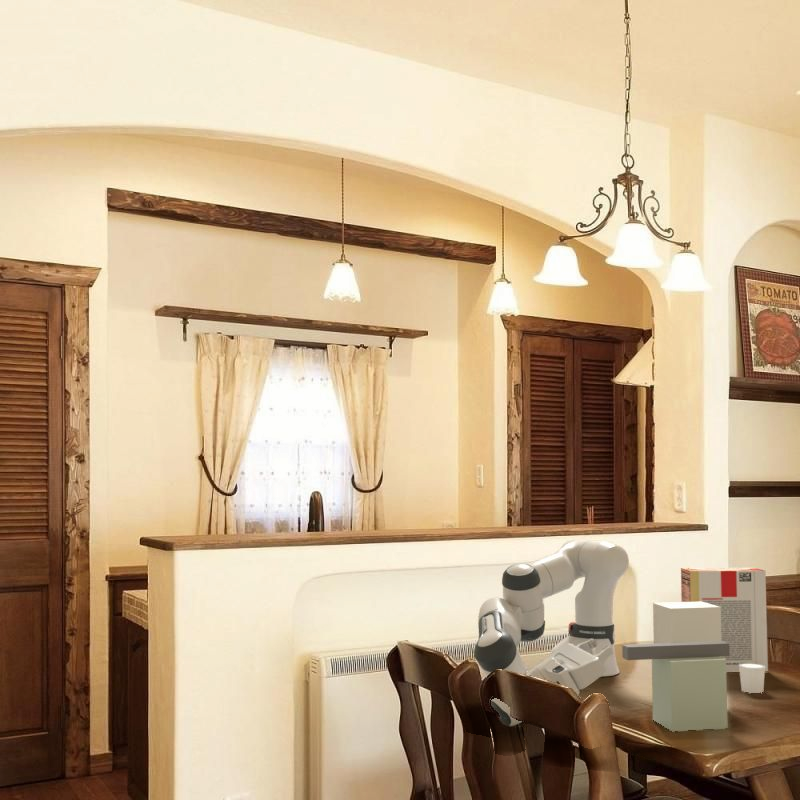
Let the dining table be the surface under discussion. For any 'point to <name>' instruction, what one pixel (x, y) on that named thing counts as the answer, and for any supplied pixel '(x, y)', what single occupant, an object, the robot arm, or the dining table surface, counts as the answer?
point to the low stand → (690, 693)
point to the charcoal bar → (675, 650)
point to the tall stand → (686, 622)
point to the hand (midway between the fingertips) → (603, 645)
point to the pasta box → (733, 609)
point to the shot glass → (752, 677)
